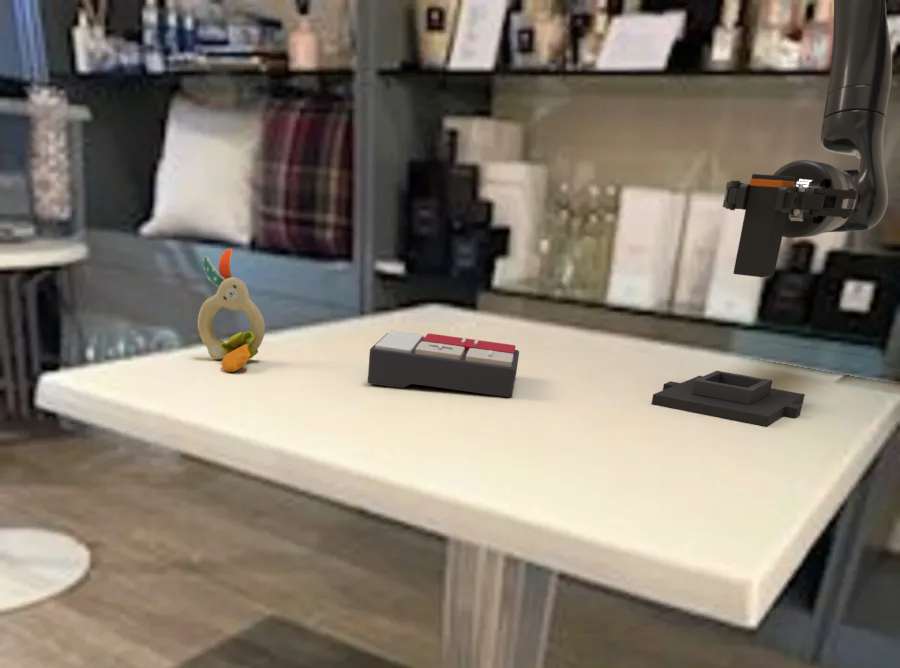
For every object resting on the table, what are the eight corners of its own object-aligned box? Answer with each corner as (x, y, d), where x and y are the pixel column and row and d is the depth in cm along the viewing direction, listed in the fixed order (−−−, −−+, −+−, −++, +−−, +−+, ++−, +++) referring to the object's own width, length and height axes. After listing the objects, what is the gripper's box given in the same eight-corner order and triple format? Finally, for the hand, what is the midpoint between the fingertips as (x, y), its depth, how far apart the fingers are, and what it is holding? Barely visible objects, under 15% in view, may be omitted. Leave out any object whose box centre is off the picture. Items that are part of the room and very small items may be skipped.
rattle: (175, 366, 92) (166, 250, 87) (212, 353, 100) (205, 245, 95) (240, 374, 91) (235, 256, 86) (273, 360, 98) (270, 251, 93)
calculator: (516, 361, 87) (369, 341, 88) (510, 403, 89) (366, 383, 90) (520, 342, 97) (388, 324, 98) (515, 381, 99) (385, 363, 100)
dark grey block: (744, 271, 90) (764, 175, 86) (774, 275, 89) (795, 177, 85) (732, 273, 87) (751, 173, 83) (763, 277, 86) (784, 175, 82)
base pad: (687, 382, 102) (691, 360, 101) (814, 405, 95) (819, 382, 94) (640, 401, 91) (644, 377, 90) (779, 429, 85) (785, 403, 83)
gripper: (750, 158, 97) (696, 149, 84) (884, 165, 91) (848, 157, 78) (736, 231, 101) (682, 233, 88) (865, 243, 94) (827, 248, 81)
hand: (761, 198), depth 83 cm, fingers closed on dark grey block, 3 cm apart
